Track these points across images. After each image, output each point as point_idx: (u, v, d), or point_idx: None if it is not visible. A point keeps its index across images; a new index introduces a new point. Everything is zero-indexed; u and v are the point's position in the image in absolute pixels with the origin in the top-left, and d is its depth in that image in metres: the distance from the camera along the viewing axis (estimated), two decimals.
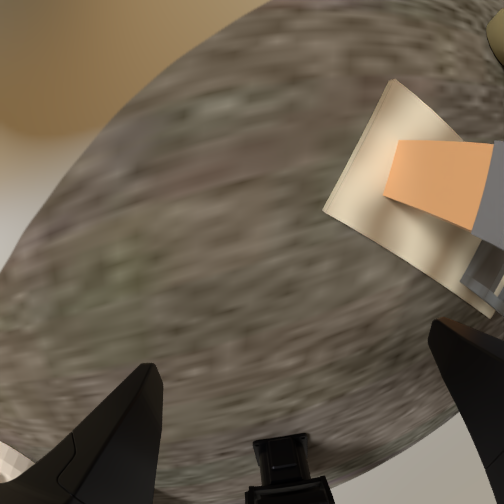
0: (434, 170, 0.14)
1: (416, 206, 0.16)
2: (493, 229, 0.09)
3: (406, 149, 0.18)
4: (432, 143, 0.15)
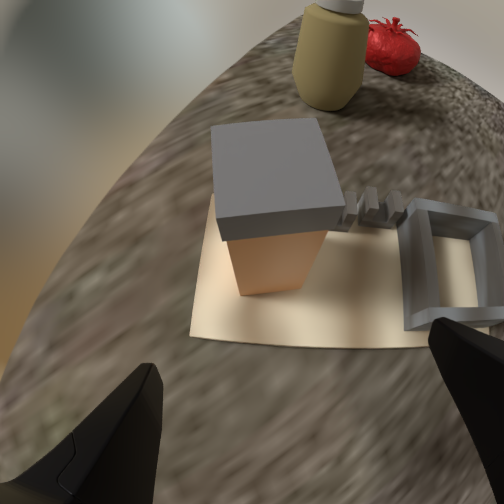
0: None
1: None
2: None
3: None
4: None
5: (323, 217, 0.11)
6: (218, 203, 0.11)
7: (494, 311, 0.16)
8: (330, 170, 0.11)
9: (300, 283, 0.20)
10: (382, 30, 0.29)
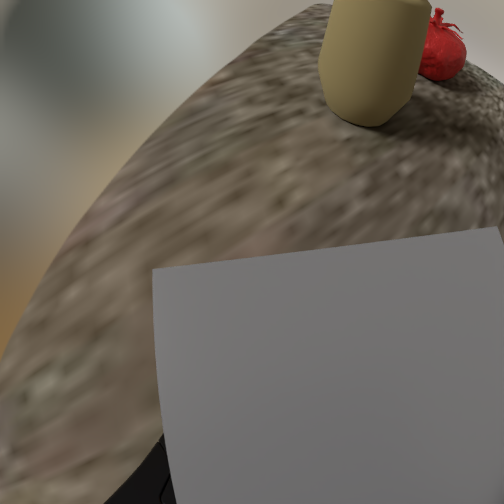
0: None
1: None
2: None
3: None
4: None
5: None
6: None
7: None
8: None
9: None
10: None
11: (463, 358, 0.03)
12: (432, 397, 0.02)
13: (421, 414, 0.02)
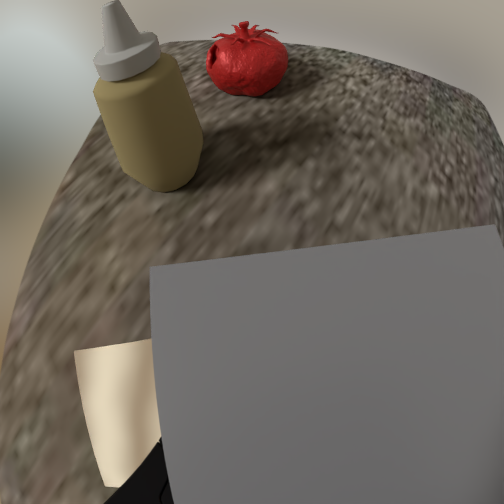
0: None
1: None
2: None
3: None
4: None
5: None
6: None
7: None
8: None
9: None
10: (229, 45, 0.27)
11: (460, 356, 0.03)
12: (429, 395, 0.02)
13: (418, 412, 0.02)
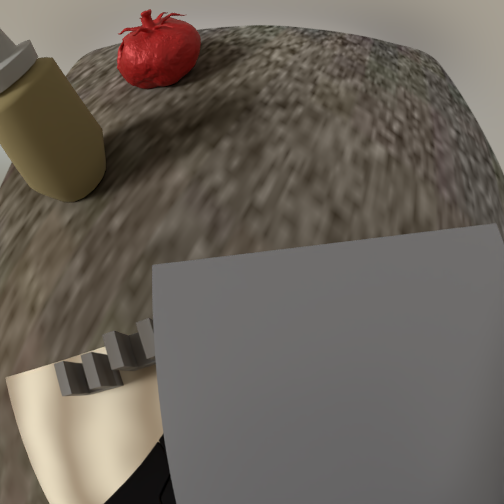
0: None
1: None
2: None
3: None
4: None
5: None
6: None
7: None
8: None
9: None
10: (133, 37, 0.22)
11: (463, 354, 0.03)
12: (432, 393, 0.02)
13: (421, 410, 0.02)
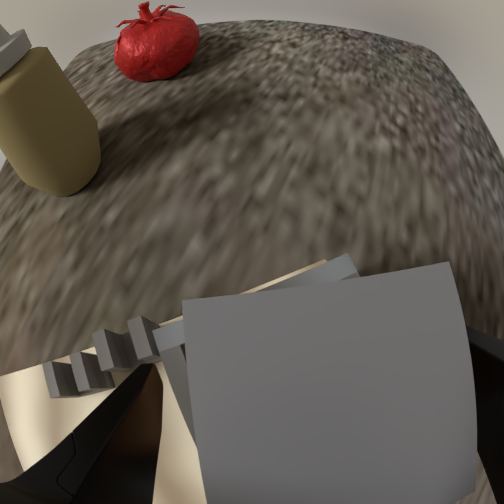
0: None
1: None
2: None
3: None
4: None
5: None
6: None
7: None
8: (470, 424, 0.03)
9: None
10: (131, 30, 0.21)
11: (407, 365, 0.04)
12: (380, 392, 0.04)
13: (371, 403, 0.04)
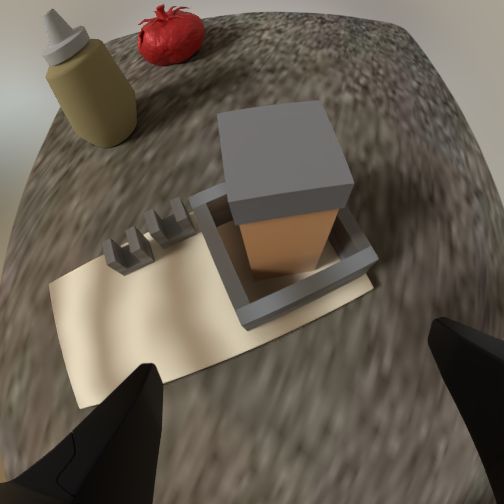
0: None
1: None
2: None
3: None
4: None
5: (333, 196, 0.11)
6: (229, 187, 0.11)
7: (338, 268, 0.18)
8: (337, 150, 0.11)
9: (313, 265, 0.21)
10: (151, 26, 0.29)
11: (299, 126, 0.12)
12: (288, 132, 0.12)
13: (285, 135, 0.12)
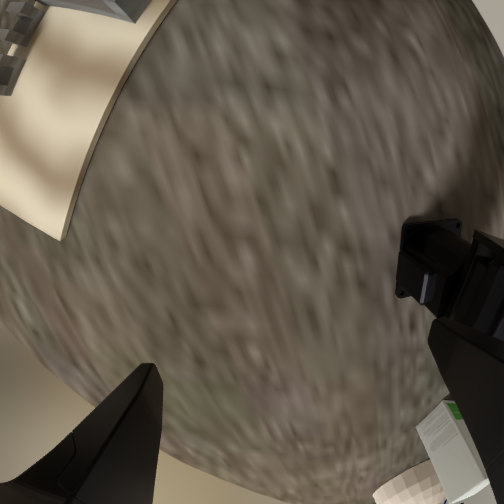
0: None
1: None
2: None
3: None
4: None
5: None
6: None
7: None
8: None
9: None
10: None
11: None
12: None
13: None
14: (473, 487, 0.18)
